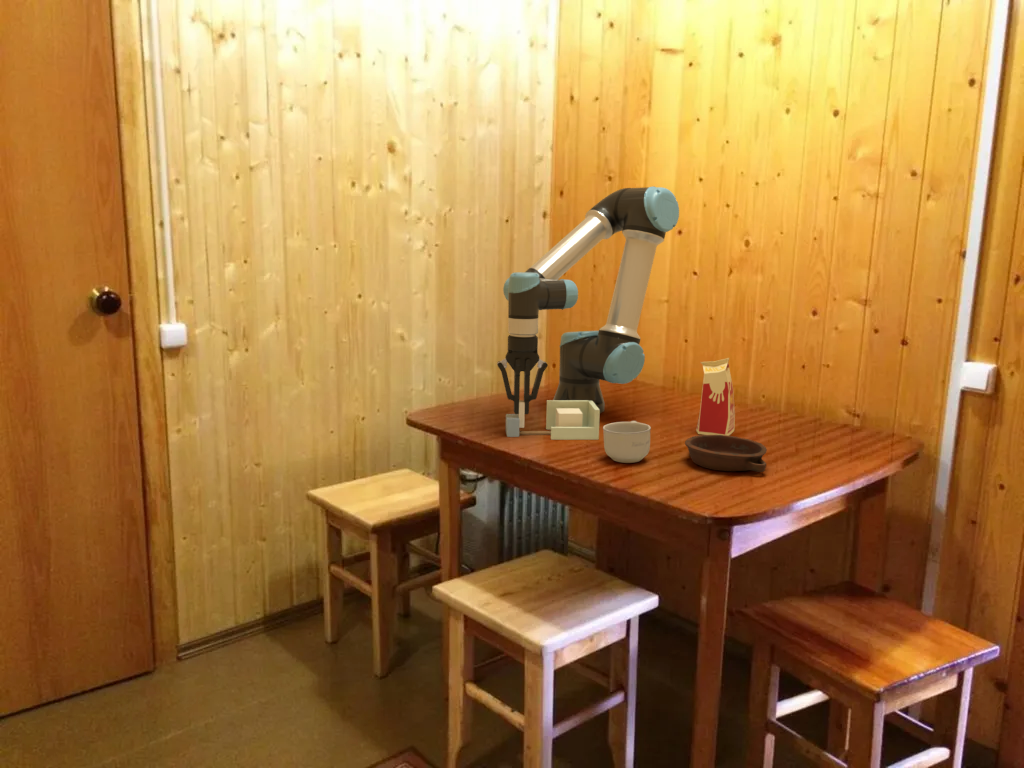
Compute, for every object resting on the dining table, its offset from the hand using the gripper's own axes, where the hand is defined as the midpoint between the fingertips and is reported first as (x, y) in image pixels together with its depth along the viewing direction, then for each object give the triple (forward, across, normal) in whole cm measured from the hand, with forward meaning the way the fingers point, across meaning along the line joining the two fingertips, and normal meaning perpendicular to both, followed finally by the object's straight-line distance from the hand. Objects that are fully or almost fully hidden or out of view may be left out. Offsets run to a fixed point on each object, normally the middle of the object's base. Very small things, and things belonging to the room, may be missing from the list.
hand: (521, 426), depth 207 cm
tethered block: (+2, -6, 0) cm, 6 cm away
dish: (+3, -44, +27) cm, 52 cm away
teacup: (+2, -23, +22) cm, 32 cm away
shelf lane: (+2, -13, 0) cm, 13 cm away
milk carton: (+2, -51, -2) cm, 51 cm away
